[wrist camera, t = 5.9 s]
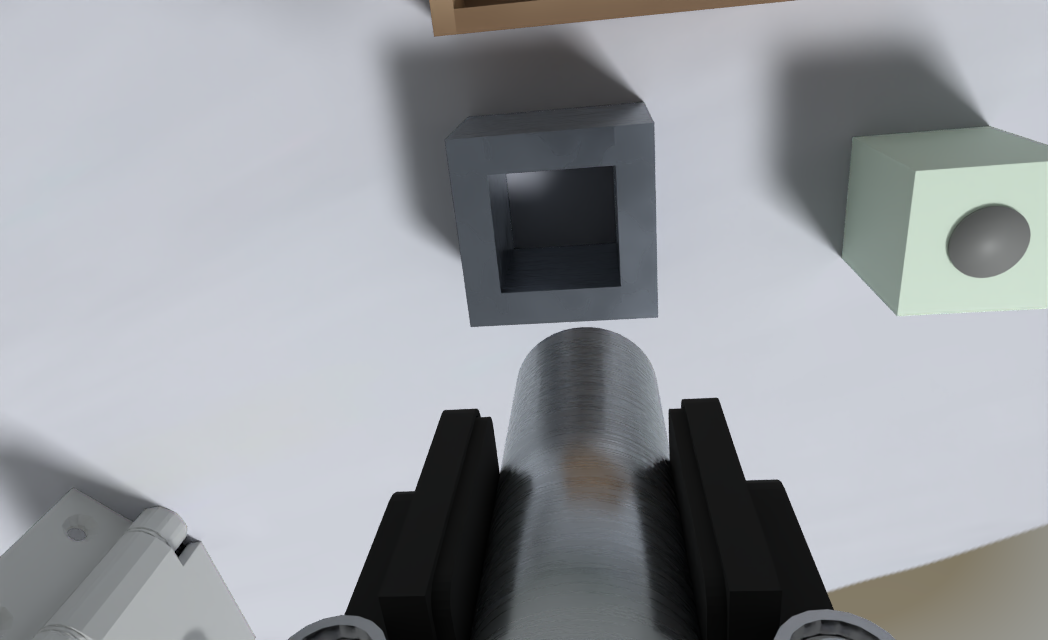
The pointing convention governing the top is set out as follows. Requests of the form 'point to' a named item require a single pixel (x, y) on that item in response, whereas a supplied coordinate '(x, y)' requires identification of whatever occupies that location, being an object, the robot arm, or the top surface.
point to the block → (567, 271)
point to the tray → (553, 12)
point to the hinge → (113, 580)
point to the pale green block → (949, 220)
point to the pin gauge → (586, 503)
